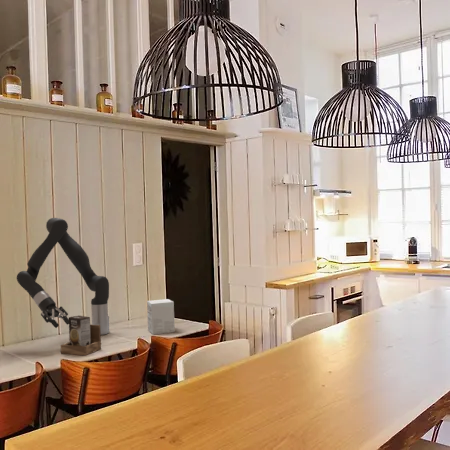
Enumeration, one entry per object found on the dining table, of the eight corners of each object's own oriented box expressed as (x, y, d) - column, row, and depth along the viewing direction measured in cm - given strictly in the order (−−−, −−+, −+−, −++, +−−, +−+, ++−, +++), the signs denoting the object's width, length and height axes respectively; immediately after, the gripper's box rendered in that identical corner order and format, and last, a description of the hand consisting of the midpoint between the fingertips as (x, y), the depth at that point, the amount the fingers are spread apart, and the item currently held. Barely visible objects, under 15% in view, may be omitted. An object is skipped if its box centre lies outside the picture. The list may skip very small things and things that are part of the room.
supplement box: (169, 327, 292) (168, 298, 292) (175, 332, 279) (174, 301, 279) (147, 330, 287) (146, 300, 287) (152, 334, 275) (151, 303, 275)
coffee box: (69, 349, 242) (68, 317, 242) (79, 346, 247) (78, 315, 247) (80, 352, 237) (79, 318, 237) (91, 349, 242) (90, 316, 242)
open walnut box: (77, 347, 251) (76, 323, 251) (101, 348, 246) (100, 325, 246) (61, 353, 239) (60, 328, 239) (85, 355, 234) (84, 330, 234)
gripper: (38, 298, 242) (57, 322, 238) (57, 294, 256) (76, 317, 251) (30, 309, 244) (49, 333, 240) (50, 304, 258) (68, 327, 253)
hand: (63, 325), depth 246 cm, fingers open, 8 cm apart
